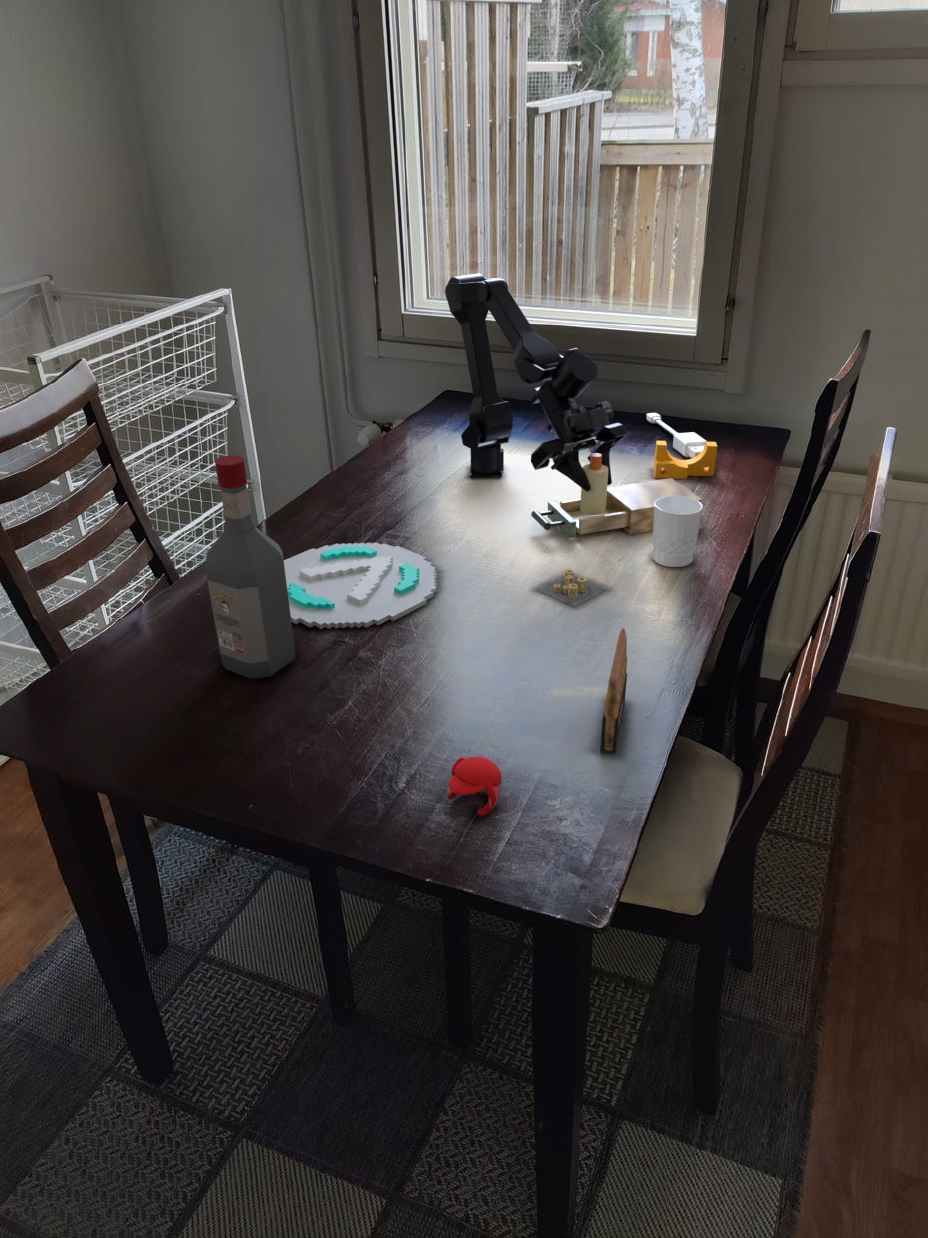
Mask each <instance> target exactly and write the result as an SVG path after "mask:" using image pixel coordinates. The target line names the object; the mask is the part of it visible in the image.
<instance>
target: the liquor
mask: <svg viewBox="0 0 928 1238" xmlns="http://www.w3.org/2000/svg"><path fill="white" fill-rule="evenodd" d="M214 463H215V471H216V478H217V484H218V487H219V488H220V494H221V502H222V509H223V510H222V511H223V516H224V523H223V532H222V533H221V534H220V535H219V536H218V538H217V539H216V540H215V542H214V543H213V544H212V546H211V547H210V548H209V549H208V550H207V553H206V557H205V575H206V579H207V587H208V592H209V596H210V597H209V598H210V604H211V608H212V609H211V610H212V615H213V620H214V626H215V631H216V638H217V643H218V648H219V649H218V650H219V654H220V660H221V665H222V666H223V667H224V669H225V670H227V671H230V672H232V673H235V674H237V675H240V676H243V677H245V678H248V679H251V680H256V679H262V678H270V677H272V676H273V675H274V674H276V673H277V672H279V671H280V670H281V669H283V668H285V667H286V666H288V665H289V664H291V663H292V662H293V661H294V659H295V657H296V648H295V647H296V645H295V639H294V631H293V622H291V615H290V607H289V599H288V591H287V583H286V575H285V567H284V560H285V559H284V554H283V549H282V548H281V547H280V545H279V543H277V542H276V541H275V540H274V539H272V538H271V537H270V536H268V535H267V534H265V533H264V532H263V531H261V529H259V528H257V527H256V525H255V521H254V519H253V517H252V513H251V505H250V499H249V492H248V485H247V484H248V477H247V470H246V465H245V458H244V457H243V456H241V455H234V454H231V455H224V456H220V457H218V458H216V459H215V461H214Z"/></svg>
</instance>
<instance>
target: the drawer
mask: <svg viewBox="0 0 928 1238" xmlns="http://www.w3.org/2000/svg"><path fill="white" fill-rule="evenodd" d="M580 502H581V498H576V499H575V498H574V499H568V500H561V501H560V503H559V504H560V505H559V504H558V503H557V502H556V501H555V500H551V501H547V510H544V511H539V510H536V509H535V510H533V511H531V514H530V516H531V517H532V518H533V519H534V520H535V521H536V522H537V523H538V524H539V526H541V527H542V528H543V530H544V531H549V530H550V529H551V528H554V527H557V528H558V529H559V530H560V531H561V532H562V533H563V534H564V535H565V536H566V537H567V538H568V539H575V538H576V537H577V533H578V534H579V535H585V534H591V533H592V534H593V533H598V532H603V531H611V530H616V529H617V530H618V529H623V527H629V523H630V511H628V510H627V509H626V508H625V507H624V506H622V505H621V504H620V503H619V502H617V501H616V500H615V499H614V498H612V497H611V496H610V495H609V494H607V497H606V510H605V512H604V513H602V514H598V515H590V514H586V513H583V512H582V511H581V510H580ZM544 516H547V518H548V520H550V521H551V522H549V521H548V520H547V519H546V518H545V517H544Z"/></svg>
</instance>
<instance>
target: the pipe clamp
mask: <svg viewBox="0 0 928 1238" xmlns="http://www.w3.org/2000/svg"><path fill="white" fill-rule="evenodd" d="M717 453H718V445H717V441H707V442H706V444H705V447H704V449H703V451H702V452H701V453H700V454H699V455H698V456H696V457H695V458H692V457H691V458H689V459H679V458H677V457H674V456H673V455H672V454H671V453H670V452H669V450H668V444H667V441H666V440H656V441H655V449H654V460H653V462H654V463H653V475H654V479H668V478H672V479H679V480H680V479H682V480H683V479H685V480H687V479H688V476H689V477H690V476H692V477H714V474H715V468H716V467H715V466H716V459H717Z"/></svg>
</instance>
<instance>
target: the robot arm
mask: <svg viewBox="0 0 928 1238" xmlns="http://www.w3.org/2000/svg"><path fill="white" fill-rule="evenodd" d="M444 295H445V299H446V301H447V305H448V308H449V312H450V314H451V315H452V316H453V318H455V320H456V321H457V322H458V324H459V325H460V328H461V333H462V339H463V344H464V350H465V356H466V362H467V367H468V373H469V379H470V383H471V388H472V395H473V400H472V403H471V406H470V409H469V411H468V421H469V424H468V426H467V427H466V428H465V429H464V430H463V432H462V433H461V434H460V437H461V442H462V445H463V446H464V447H466V448H468V449H469V450H470V468H469V469H470V470H469V477H470V478H501V477H502V472H504V469H505V468H504V467H505V465H504V464H505V463H504V462H505V461H504V459H505V455H504V454H505V453H504V452H505V451H504V448H502V444H508V443H510V438H511V435H512V431H513V426H514V423H513V422H514V418H513V415H512V407H511V406H512V405H511V403H510V402H509V401H508V400H507V401H505V400H504V399H503V397H502V396H500V394H499V390H498V385H497V379H496V373H495V368H494V362H493V355H492V350H491V344H490V338H489V332H488V327H487V326H488V325H487V317H488V314H489V313H490V314H491V316H492V318H493V319H494V321H495V322H496V324H497V325H498V326H499V328H500V330H501V332H502V334H503V335H504V337H505V338H506V340H507V341H508V343H509V345H510V347H511V349H512V350H513V364H514V366H515V369H516V371H517V374H518V375H519V377H520V379H521V381H522V382H523V383H525V384H526V385H527V384H528V385H534V384H537V383H542V382H543V383H542V385H541V386H539V387H535V388H533V393H532V396H531V401H530V402H531V404H532V405H534V404H539V403H540V406H541V408H542V410H543V412H544V414H545V416H546V418H547V420H548V422H549V423H548V425H547V426H546V429H547V431H548V432H550V433H551V432H554V435H555V437H556V438H555V439H551V440H546V441H542V442H541V444H540V445H538V447H536V449H535V450H534V451H533V452H532V453H531V454H530V463H531V465H532V467H533V469H534V471H536V470H537V471H538V470H541V469H545V468H547V467H549V464H550V461H551V460H550V459H552V462H553V463H552V465H551V466H550V469H551V470H556V471H557V472H559V473H560V474H562V475H563V476H565V477H566V478H568V479H569V480H571V481H572V482H573V483H575V484H576V485H577V486H579V487H580V489H581V488H582V489H584V490H585V491H586V492H588V491H590V490H591V487H590V484H589V481H588V479H587V477H586V475H585V473H584V470H583V466H582V463H581V462H580V451H583V450H587V449H588V451H589V453H590V454H589V455H588V456H587V458H586V459H587V460H588V462H590V456H591V454H592V453H600V454H602V463H601V464H602V465H605V466H607V467H608V483H607V486H610V485H611V484H613V479H612V471H611V461H610V460H611V459H610V452H611V449H613V448H615V447H616V446H617V445H618V444H619V443H620V442H621V441H622V440H623V439H624V438H626V436H628V432H627V429H626V428H625V426H624V424H622V423H620V422H616V423H612V424H610V421H609V420H610V419H613V418H614V416H615V415H614V409H613V407H612V405H611V404H610V402H609V401H608V400H605V401H601V402H598V403H595V405H594V409H589V410H587V409H586V408H585V407H584V406H583V405H580V406H578V404H577V403H576V401H575V399H577V398H578V397H579V396H580V395H581V394H582V393H583V392H584V391H585V390H586V389H587V388H588V387H589V386H590V385H591V383H592V382H594V380H596V378H597V376H598V375H599V374H598V372H599V369H598V366H597V364H596V362H595V361H594V360H593V359H592V358H590V357H589V356H588V355H586V354H584V353H581V352H580V350H579V348H578V347H575V348H571V349H570V348H569V349H567V351H566V352H565V353H564V355H562V354H560V353H559V351H558V350H557V348H556V347H555V346H554V345H553V344H552V343H551V342H550V341H549V340H548V339H546V338H545V337H543V336H540V335H539V334H538V333H537V332H536V331H535V330H534V328H533V327H532V325H531V323H530V322H529V319H527V317H526V315H525V314H524V313H523V311H522V310H521V308H520V306H519V304H518V303H517V302H516V300H515V298H514V296H513V295H512V293H511V292H510V291H509V285H508V283H507V281H506V279H503V278H500V277H498V278H487V277H485V276H484V275H483V274H481V273H473V274H466V275H459V276H452V277H450V278H449V280H448V282H447V284H446V285H445V288H444ZM600 426H603V427H602V428H601V429H600V430H598V427H600ZM597 431H598V432H597ZM596 432H597V433H596ZM594 433H596V434H594ZM593 434H594V435H593Z"/></svg>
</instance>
